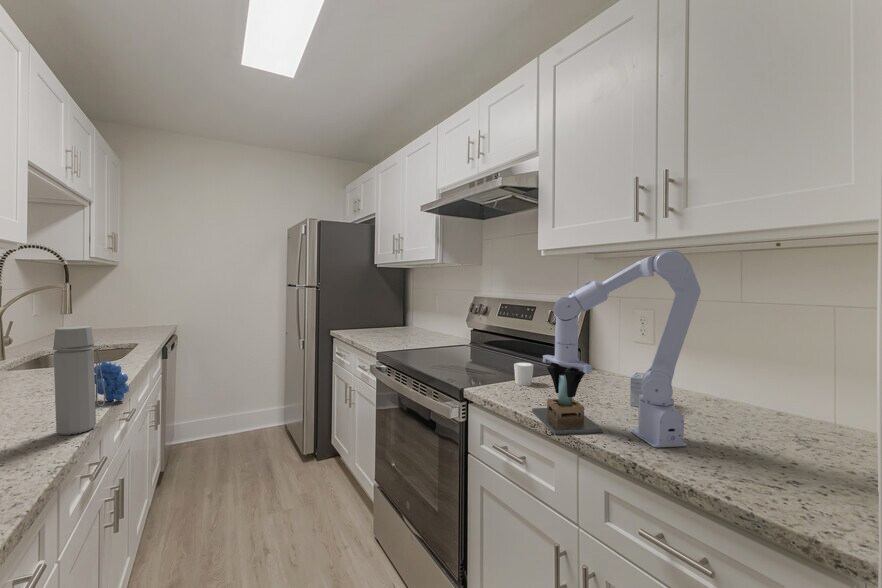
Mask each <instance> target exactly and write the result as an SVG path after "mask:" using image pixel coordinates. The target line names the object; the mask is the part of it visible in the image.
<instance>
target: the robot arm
mask: <svg viewBox="0 0 882 588" xmlns="http://www.w3.org/2000/svg"><path fill="white" fill-rule="evenodd" d="M654 272H655V273H656V274H657V275H658V276H660V277H661V278H662V279H664V281H666V282H667V283H668V285H669V286H670V288H671V290H672V291H673V292H674V296H673V297H674V298H673V301H672V302H671V303H672V304H671V307H670V309H669V311H668V312H669V313H668V316H667V319H666V321H665V325H664V328H663V331H662V334H661V336H660V339H659V343H658V345H657V348H656V351H655V354H654V358H653V360H652V361H651V365H650V366H649V369H648V370H647V371H645V372H644V373H645V374H644V375H643V378H642V385H641V392H642V394H641V395H640V396H639V407H638V425H637V426H638V428H636V429H635V428H632V429H629V430H630V433H632V434H634V435H635V436H636V437H638V438H639V439H641V440H643V441H644V442H646V443H648V445H650V446H652V447H654V448H673V447H675V448H676V447H687V446H688V444H687V443H686V442H684V436H685V435H684V433H685V430H684V429H685V418H684V415H683V414H682V412H681V411H680V410H678V408H677V407H676V405H675V399H674V398H673V393H674V391H673V386H672V385H673V378H674V375H675V370H676V365H677V363H678V359H679V357H680V354H681V351H682V348H683V345H684V342H685V339H686V337H687V334H688V331H689V328H690V325H691V322H692V319H693V316H694V314H695V313H694V312H695V310H696V307H697V304H698V302H699V299H700V296H701V292H702V290H701V287H700V285H699V282H698V279H697V276H696V274H695V272H694V268H693V265H692V262H691V261H690V260H689V259H688V258H687V257H686V256H685V255H684V254H683V253H682V252H680V251H679V250H676V249H670V248H669V249H664V250H662V251H660V252H659V253H657V254H656V255H655V254H654V255H650V256H648V257H645V258H643V259H640V260H638V261H636V262H635V263H633V264H631V265H629V266H627V267H626V268H624V269H622V270H621V271H619V272H617V273H616V274H614V275H612V276H611V277H609V278H607V279H605V280H604V281H599V280H593V281H591V280H587V281H586V282H584V286H582V287H580V288H578V289H576V290H574V291H571V290H570V291H568V293H567V295H568V296H562V297H559V299H557V300H556V301H555V303H554V305H553V312H554V314H555V326H554V328H555V329H554V331H555V332H554V355H551V354H544V355H542V363H544V364H549V365H548V366H547V367H546V368H547V369H546V370H547V371H548V373H549V375H550V376H551V379H552V383H553V385H554V386H553V387H554V392H555V393H556V394H559V374H565V376H566V380H567V395H568V397H570V398H571V397H572V398H575V397H576V394H577V391H578V387H579V385H580V383H581V380H582V379H583V377H584V376H585V374H590V373H592V371H593V370H592V369H593V364H590V363H587V362H585V361H583V360H580V359H579V358H578V357H579V315H580V313H581V312H582V313H585V312H587V311H589V310H590V309H592V308H595V307H596V306H599V305H600V304H602V303H604V302H606V301H607V300H608V297H609V294H610V293H611V292H613V291H615V290H617V289H619V288H621V287H623V286H626V285H628V284H630V283H632V282H633V281H635V280H638V279H639V278H648V277H649V278H650V277H655V274H654Z"/></svg>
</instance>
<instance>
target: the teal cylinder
mask: <svg viewBox="0 0 882 588" xmlns="http://www.w3.org/2000/svg"><path fill="white" fill-rule="evenodd" d="M557 399H558V405H559V406H572V399H573V397H571V398H570V397H568V395H567V380H566V376H565V374H559V393H558V398H557Z"/></svg>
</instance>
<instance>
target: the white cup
mask: <svg viewBox="0 0 882 588" xmlns="http://www.w3.org/2000/svg"><path fill="white" fill-rule="evenodd" d="M513 368H514V380H515V381H514V382H515V385H518V386H524V387H526V386H528V387H529V386H532V383H533V374H534V363H531V362H525V361H524V362H522V361H521V362H520V361H519V362H515V363H513Z"/></svg>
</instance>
